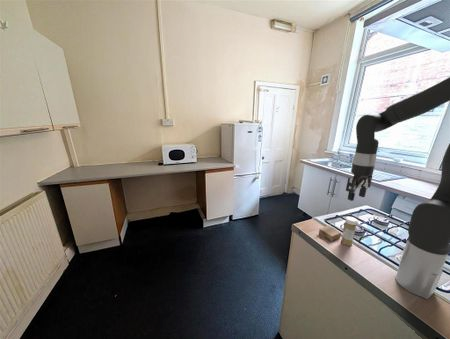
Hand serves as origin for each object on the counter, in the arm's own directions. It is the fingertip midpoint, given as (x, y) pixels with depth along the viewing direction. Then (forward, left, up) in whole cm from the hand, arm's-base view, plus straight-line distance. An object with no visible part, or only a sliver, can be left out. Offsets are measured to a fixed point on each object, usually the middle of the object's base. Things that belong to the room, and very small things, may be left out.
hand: (356, 198), depth 80 cm
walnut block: (+8, +2, -24) cm, 25 cm away
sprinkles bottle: (0, 0, -24) cm, 24 cm away
